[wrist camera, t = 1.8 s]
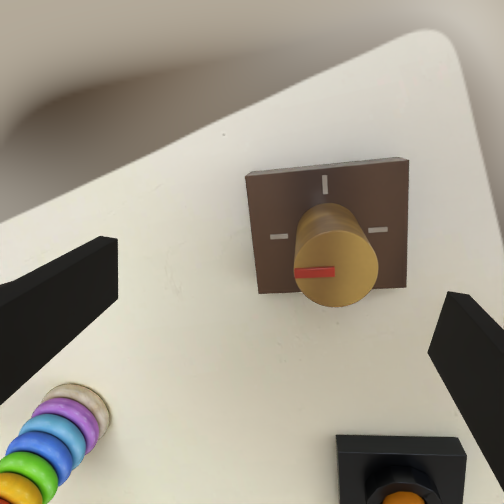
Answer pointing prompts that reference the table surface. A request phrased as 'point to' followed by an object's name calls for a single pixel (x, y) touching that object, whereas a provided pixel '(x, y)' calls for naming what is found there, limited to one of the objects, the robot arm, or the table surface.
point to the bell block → (400, 468)
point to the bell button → (403, 498)
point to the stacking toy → (52, 444)
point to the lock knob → (333, 257)
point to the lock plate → (329, 191)
